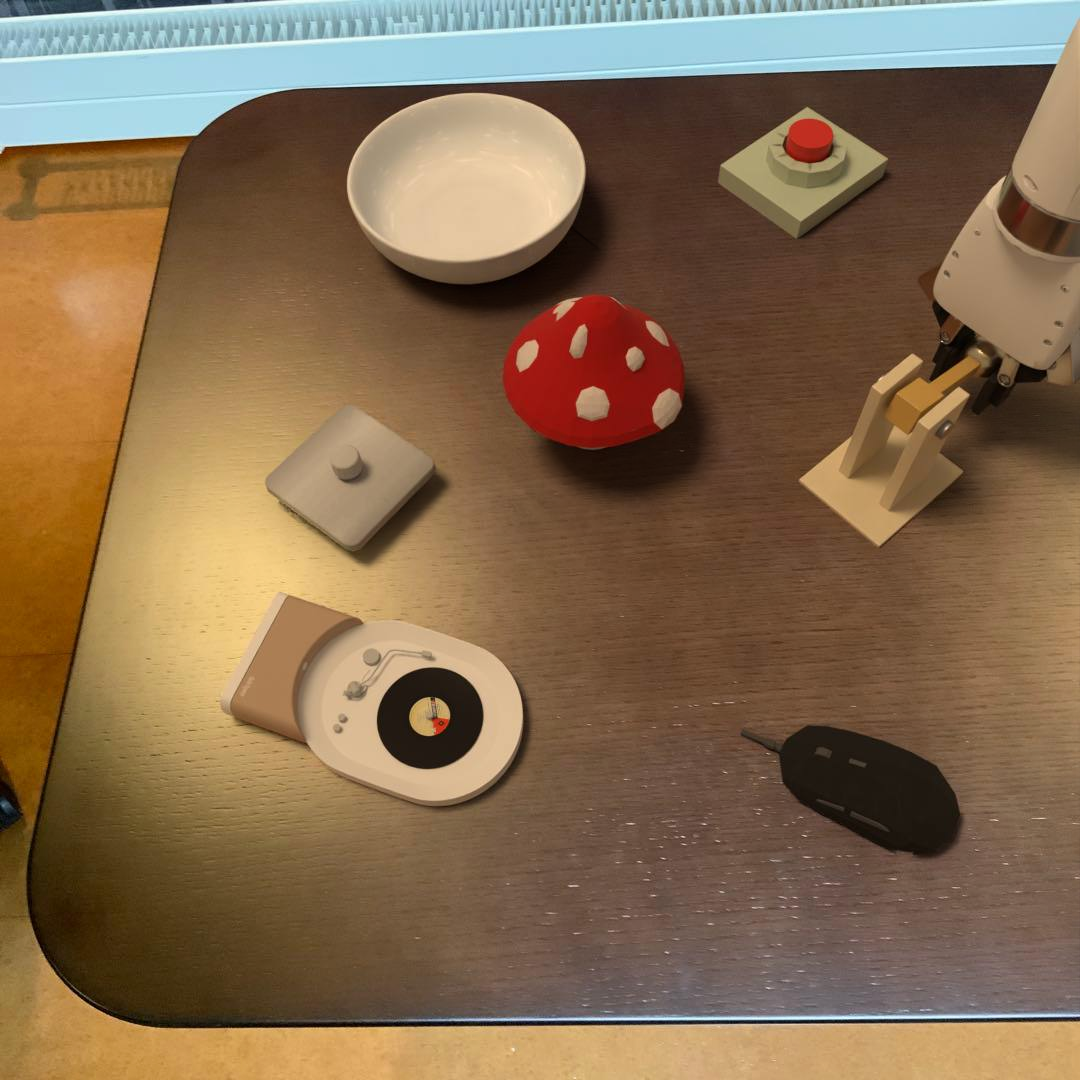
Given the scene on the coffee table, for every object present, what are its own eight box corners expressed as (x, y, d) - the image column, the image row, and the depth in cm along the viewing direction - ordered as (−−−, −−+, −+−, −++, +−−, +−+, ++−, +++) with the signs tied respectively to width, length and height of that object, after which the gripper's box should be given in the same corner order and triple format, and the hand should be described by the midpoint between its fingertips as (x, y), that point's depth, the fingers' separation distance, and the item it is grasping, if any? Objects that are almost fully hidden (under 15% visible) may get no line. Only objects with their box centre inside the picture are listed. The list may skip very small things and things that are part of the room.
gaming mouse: (757, 694, 74) (766, 672, 70) (965, 788, 70) (986, 770, 67) (723, 772, 71) (730, 753, 68) (937, 874, 67) (957, 860, 64)
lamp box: (803, 125, 103) (811, 90, 100) (882, 177, 99) (893, 142, 96) (717, 183, 99) (722, 148, 96) (796, 239, 95) (805, 205, 92)
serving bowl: (331, 192, 100) (315, 131, 94) (532, 129, 104) (530, 67, 98) (403, 345, 90) (391, 289, 84) (623, 271, 94) (626, 211, 88)
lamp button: (805, 128, 97) (809, 112, 96) (838, 149, 96) (842, 133, 94) (776, 148, 96) (779, 132, 95) (809, 170, 95) (813, 154, 93)
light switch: (358, 567, 80) (346, 534, 75) (268, 501, 83) (251, 465, 79) (443, 480, 83) (435, 444, 79) (353, 420, 87) (341, 382, 82)
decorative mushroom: (502, 366, 89) (490, 234, 76) (664, 354, 89) (679, 220, 76) (512, 507, 82) (501, 388, 69) (687, 494, 82) (709, 372, 69)
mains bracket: (879, 418, 85) (921, 319, 75) (959, 479, 82) (1014, 385, 72) (796, 487, 82) (827, 394, 72) (875, 554, 79) (920, 466, 69)
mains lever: (967, 352, 80) (986, 320, 78) (1002, 376, 79) (1022, 345, 77) (875, 416, 75) (892, 384, 72) (910, 443, 73) (930, 412, 71)
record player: (286, 573, 76) (546, 659, 72) (296, 592, 79) (546, 676, 75) (208, 718, 71) (484, 819, 67) (221, 733, 73) (486, 831, 70)
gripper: (1217, 244, 63) (1085, 426, 79) (990, 109, 69) (911, 303, 85) (1145, 307, 60) (1024, 482, 76) (918, 162, 67) (850, 351, 83)
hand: (965, 386), depth 80 cm, fingers closed on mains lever, 3 cm apart
